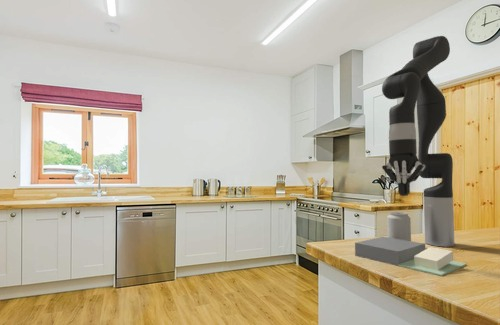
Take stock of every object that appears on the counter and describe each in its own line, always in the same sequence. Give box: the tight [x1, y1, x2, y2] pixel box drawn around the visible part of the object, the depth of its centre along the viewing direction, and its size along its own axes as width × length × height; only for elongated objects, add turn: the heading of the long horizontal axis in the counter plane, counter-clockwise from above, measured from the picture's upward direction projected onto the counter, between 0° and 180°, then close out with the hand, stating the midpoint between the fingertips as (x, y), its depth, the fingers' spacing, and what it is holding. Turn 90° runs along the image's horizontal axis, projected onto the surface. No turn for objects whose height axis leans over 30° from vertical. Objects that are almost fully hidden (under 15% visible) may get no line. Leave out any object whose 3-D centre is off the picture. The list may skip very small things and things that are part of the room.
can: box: [386, 211, 412, 241], centre depth 109 cm, size 8×8×12 cm
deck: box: [354, 236, 426, 267], centre depth 96 cm, size 16×14×4 cm
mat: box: [397, 259, 467, 277], centre depth 86 cm, size 16×11×1 cm
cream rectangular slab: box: [414, 246, 455, 270], centre depth 85 cm, size 9×6×4 cm, turn 124°
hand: (404, 195), depth 94 cm, fingers closed
